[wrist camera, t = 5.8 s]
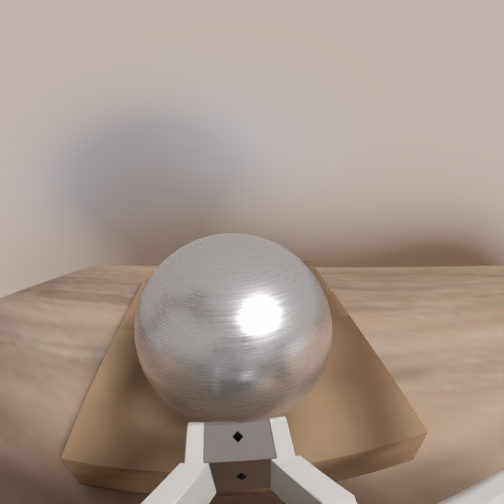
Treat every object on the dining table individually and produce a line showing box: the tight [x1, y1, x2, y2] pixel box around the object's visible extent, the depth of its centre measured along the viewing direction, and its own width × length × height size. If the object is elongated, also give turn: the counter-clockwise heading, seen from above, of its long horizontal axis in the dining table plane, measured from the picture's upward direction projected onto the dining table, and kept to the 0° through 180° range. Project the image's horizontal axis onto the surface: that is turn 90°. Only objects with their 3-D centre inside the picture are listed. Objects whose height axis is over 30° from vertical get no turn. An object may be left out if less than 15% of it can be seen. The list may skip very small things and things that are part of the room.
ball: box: [134, 233, 332, 422], centre depth 14 cm, size 9×9×9 cm
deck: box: [61, 261, 427, 496], centre depth 24 cm, size 18×25×2 cm
